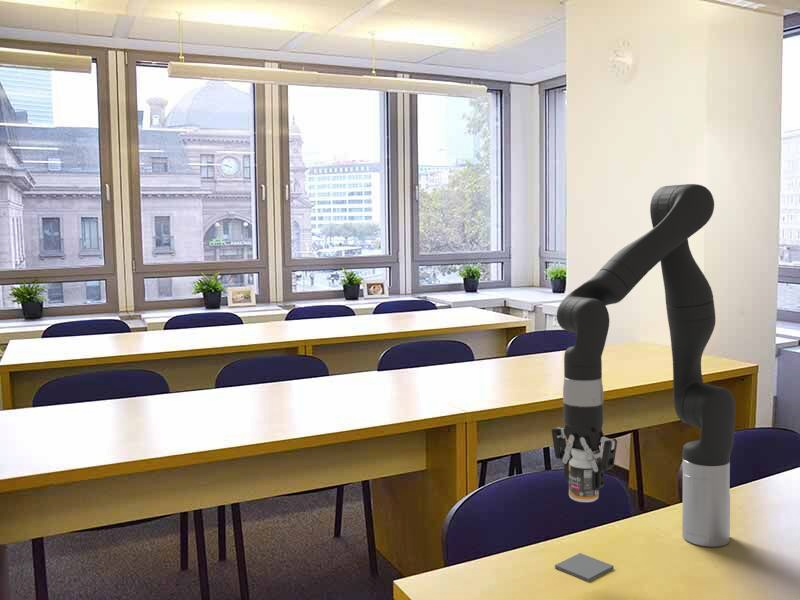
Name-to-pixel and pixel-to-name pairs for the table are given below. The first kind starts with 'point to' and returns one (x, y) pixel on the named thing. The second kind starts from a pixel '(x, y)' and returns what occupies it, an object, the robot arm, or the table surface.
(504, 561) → the table surface
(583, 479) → the pill bottle
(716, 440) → the robot arm
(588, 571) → the coaster
